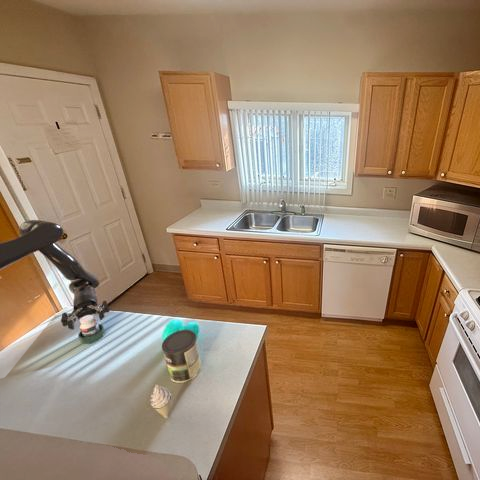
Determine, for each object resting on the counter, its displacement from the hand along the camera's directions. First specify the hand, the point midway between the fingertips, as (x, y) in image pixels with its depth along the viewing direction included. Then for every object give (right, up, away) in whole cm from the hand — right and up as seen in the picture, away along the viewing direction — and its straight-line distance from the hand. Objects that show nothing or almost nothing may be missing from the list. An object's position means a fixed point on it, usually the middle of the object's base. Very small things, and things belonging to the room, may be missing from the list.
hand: (86, 322), depth 98 cm
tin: (-1, -7, +4) cm, 8 cm away
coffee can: (+43, -15, -7) cm, 46 cm away
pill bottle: (-1, -7, +4) cm, 8 cm away
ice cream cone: (+45, -21, -22) cm, 54 cm away
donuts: (+36, -10, +4) cm, 37 cm away
